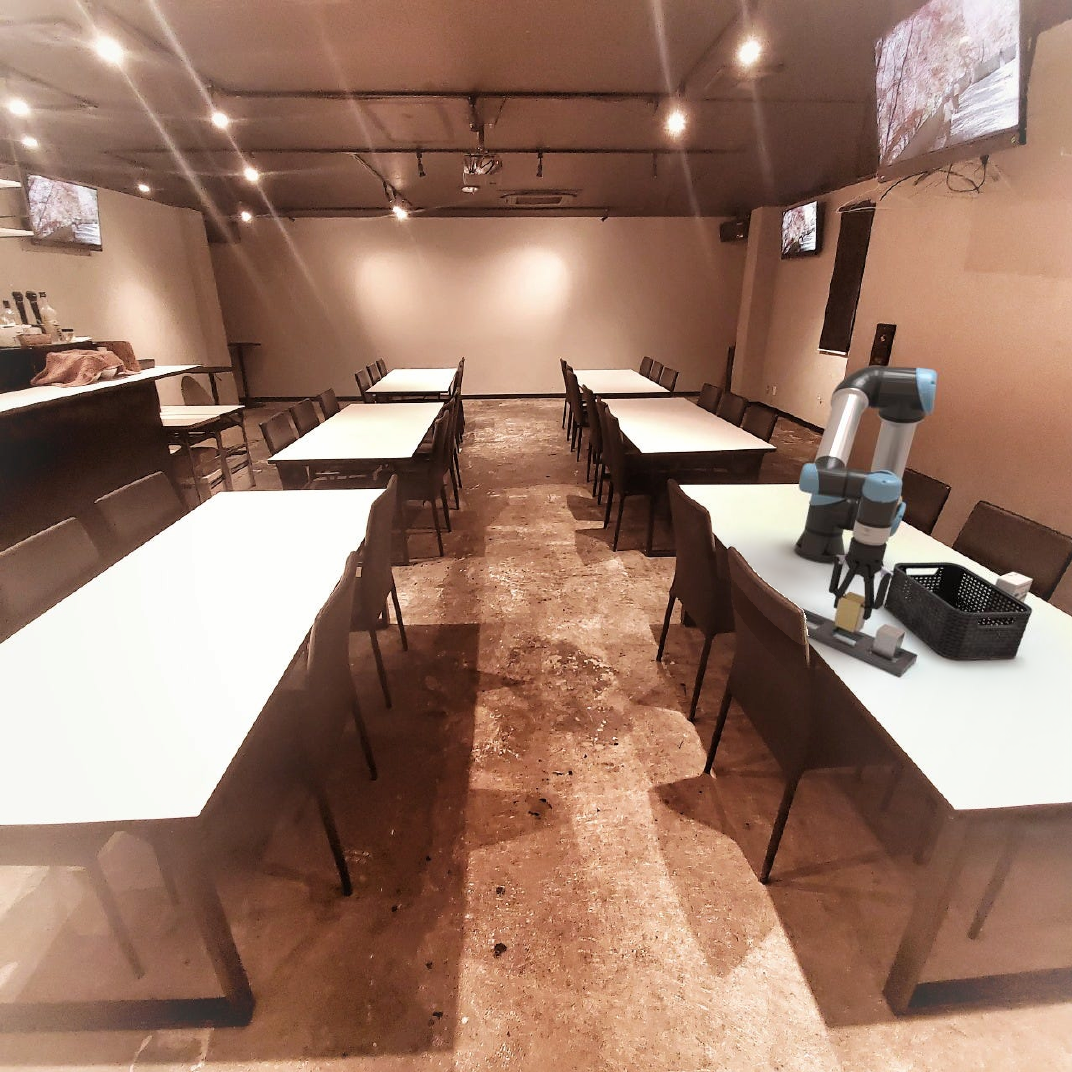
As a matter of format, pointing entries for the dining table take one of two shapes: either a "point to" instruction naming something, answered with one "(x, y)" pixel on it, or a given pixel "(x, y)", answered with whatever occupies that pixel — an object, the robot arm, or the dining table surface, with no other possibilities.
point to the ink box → (1014, 586)
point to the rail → (857, 645)
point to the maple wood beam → (849, 611)
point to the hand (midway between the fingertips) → (848, 624)
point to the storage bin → (957, 611)
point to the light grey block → (888, 642)
